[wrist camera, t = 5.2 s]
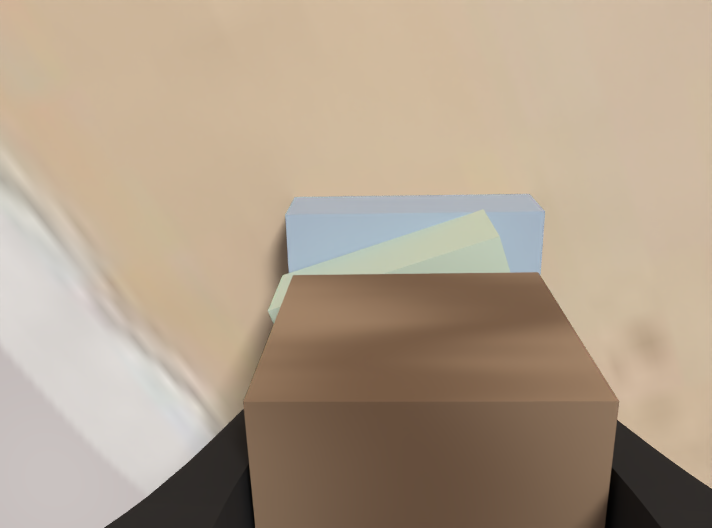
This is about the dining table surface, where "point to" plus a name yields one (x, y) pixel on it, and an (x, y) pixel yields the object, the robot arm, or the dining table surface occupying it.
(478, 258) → the sage block
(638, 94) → the dining table surface
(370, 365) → the walnut cube
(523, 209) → the slate slab
